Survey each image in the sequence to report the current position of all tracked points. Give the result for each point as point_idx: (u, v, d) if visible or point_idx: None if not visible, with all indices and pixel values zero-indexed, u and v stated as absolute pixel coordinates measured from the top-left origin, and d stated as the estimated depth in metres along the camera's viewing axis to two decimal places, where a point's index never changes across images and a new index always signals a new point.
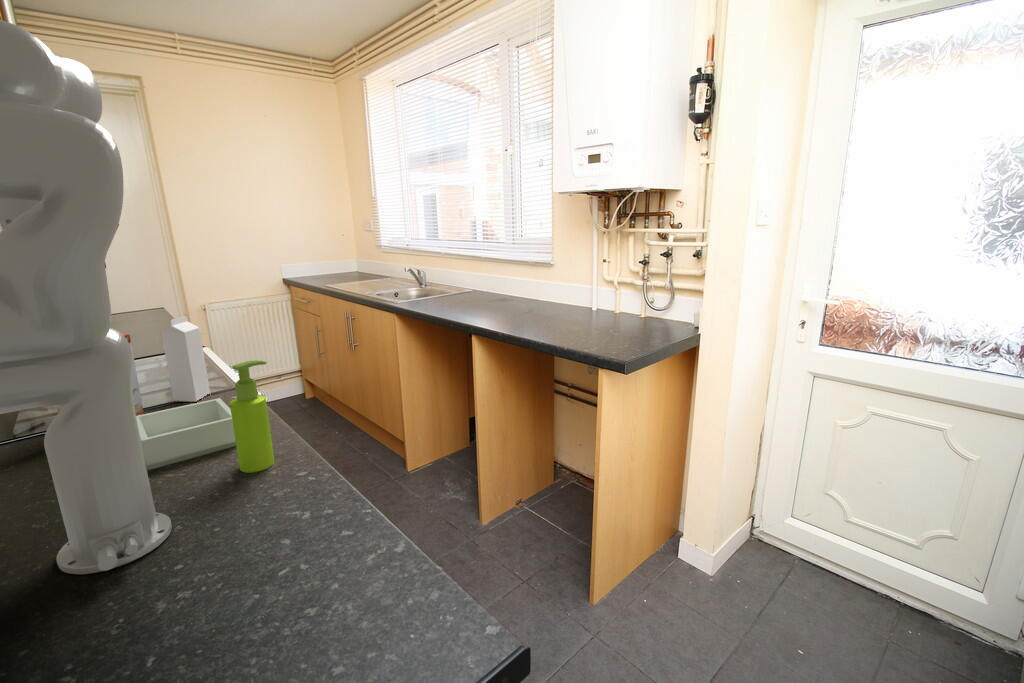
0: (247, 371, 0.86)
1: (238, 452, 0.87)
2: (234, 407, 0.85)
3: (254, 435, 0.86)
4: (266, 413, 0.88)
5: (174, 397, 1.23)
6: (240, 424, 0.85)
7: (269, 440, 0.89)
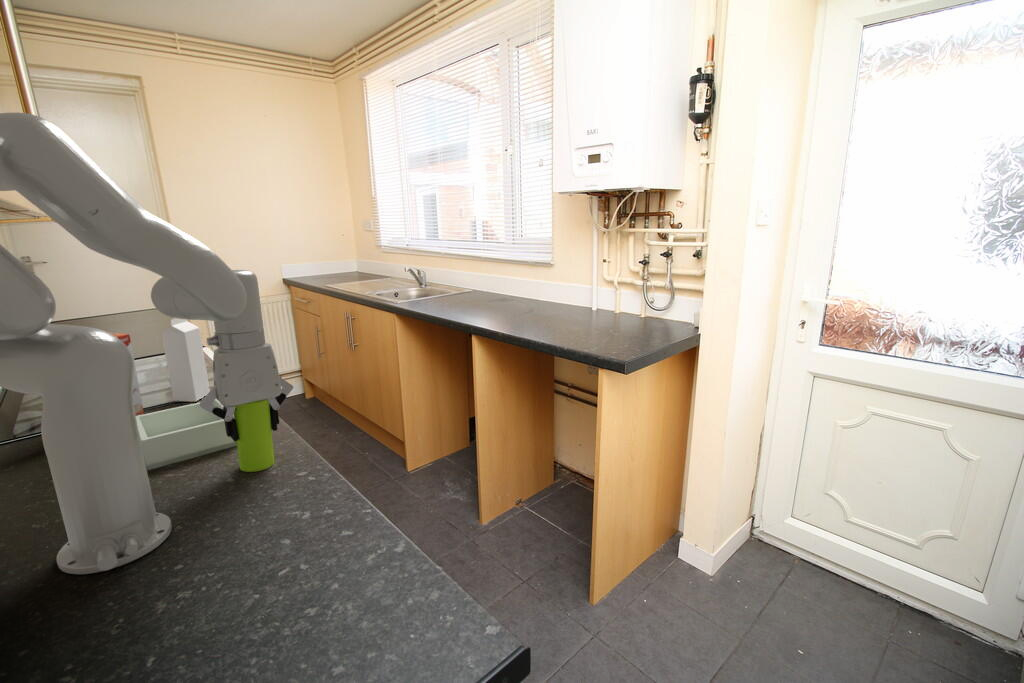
0: None
1: (239, 451, 0.87)
2: (237, 406, 0.85)
3: (256, 434, 0.86)
4: (268, 413, 0.88)
5: (174, 397, 1.23)
6: (242, 422, 0.85)
7: (270, 440, 0.89)
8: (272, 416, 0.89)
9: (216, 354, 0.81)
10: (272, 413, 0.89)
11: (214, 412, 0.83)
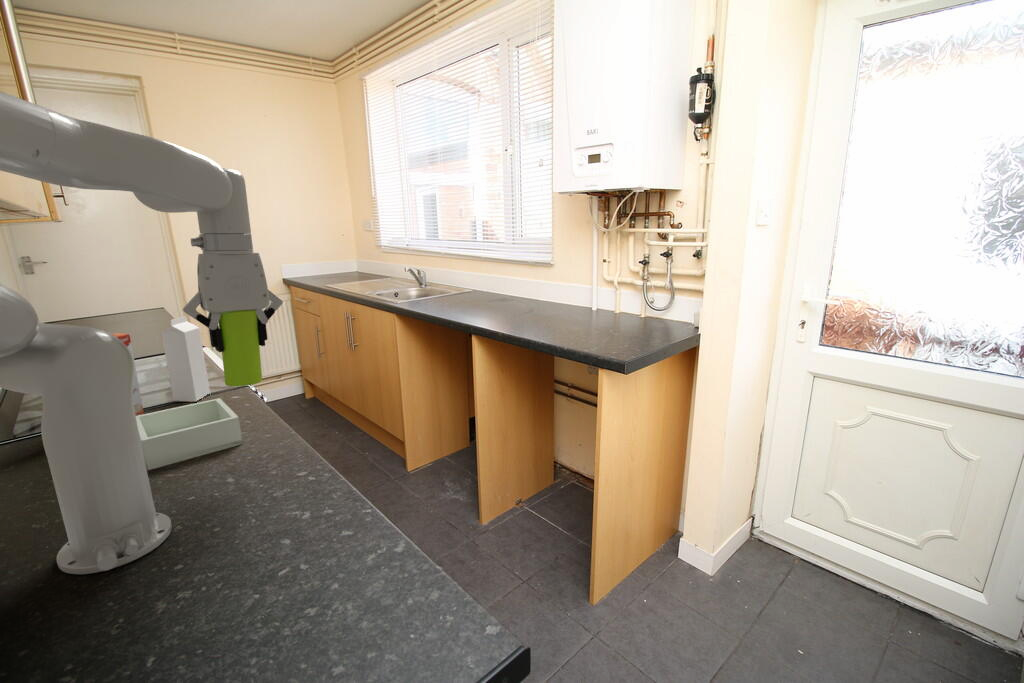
0: None
1: (224, 364, 0.83)
2: (222, 314, 0.81)
3: (242, 346, 0.82)
4: (255, 325, 0.84)
5: (174, 397, 1.23)
6: (228, 332, 0.81)
7: (257, 355, 0.85)
8: (260, 330, 0.85)
9: (200, 255, 0.78)
10: (260, 326, 0.85)
11: (198, 318, 0.79)
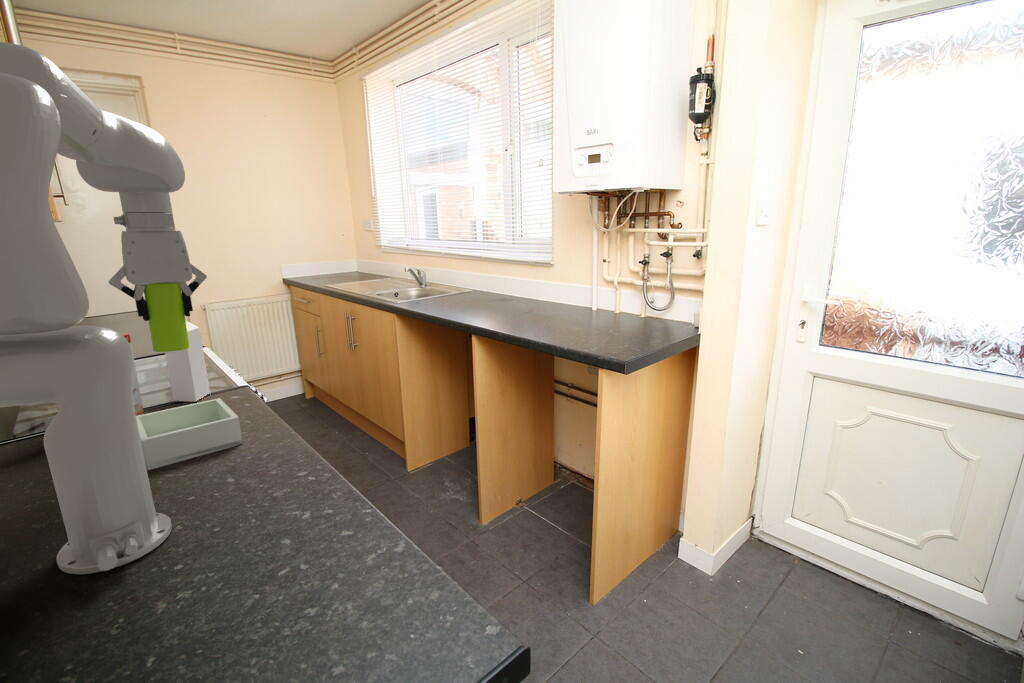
0: None
1: (151, 332, 0.92)
2: (146, 286, 0.89)
3: (166, 315, 0.91)
4: (179, 297, 0.93)
5: (174, 397, 1.23)
6: (152, 302, 0.90)
7: (182, 324, 0.94)
8: (184, 301, 0.94)
9: (122, 232, 0.86)
10: (184, 298, 0.94)
11: (123, 290, 0.88)
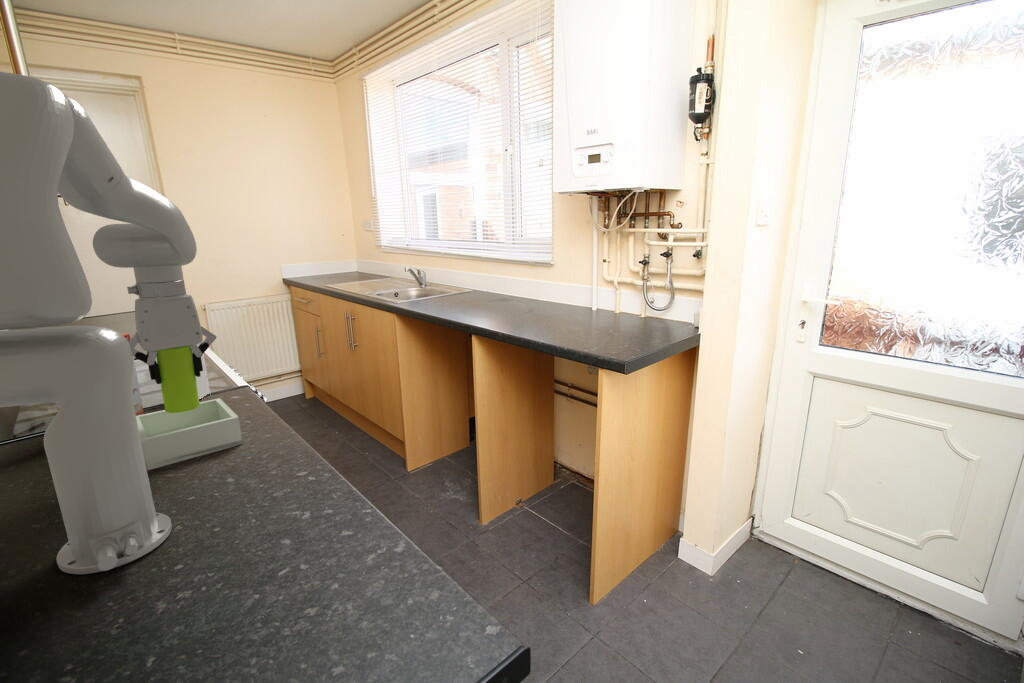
0: None
1: (163, 394, 0.95)
2: (158, 351, 0.92)
3: (178, 378, 0.94)
4: (190, 359, 0.96)
5: None
6: (164, 366, 0.93)
7: (193, 384, 0.97)
8: (195, 363, 0.97)
9: (136, 302, 0.89)
10: (195, 360, 0.97)
11: (136, 356, 0.91)
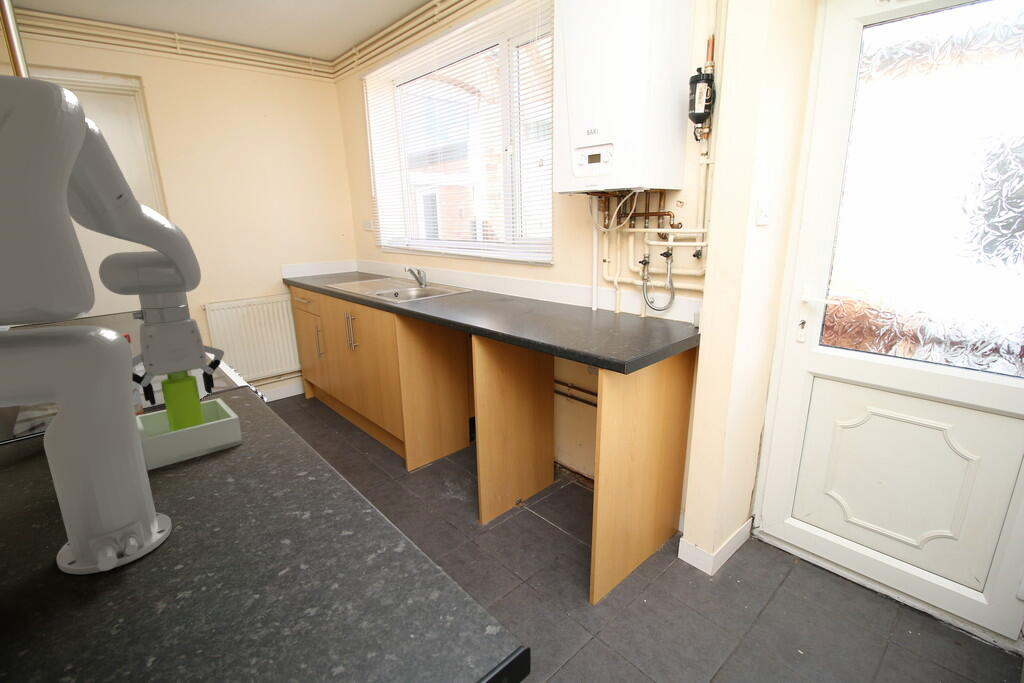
0: None
1: (170, 427, 0.96)
2: (164, 385, 0.94)
3: (184, 411, 0.95)
4: (196, 391, 0.97)
5: None
6: (170, 400, 0.94)
7: (199, 416, 0.98)
8: (206, 380, 0.99)
9: (141, 327, 0.90)
10: (206, 377, 0.98)
11: None
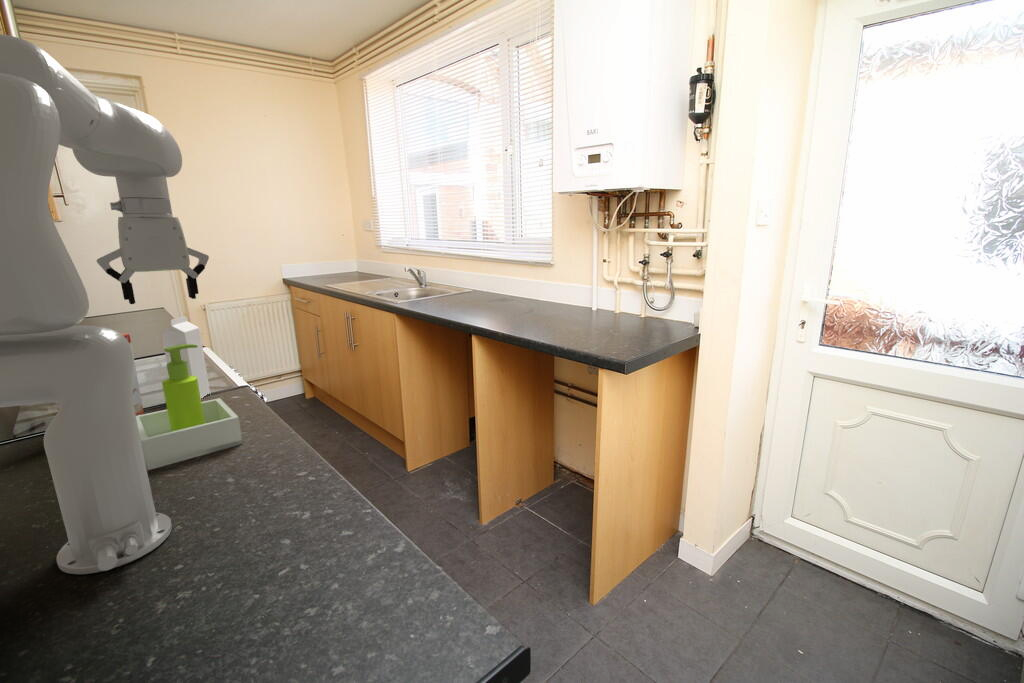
0: (178, 353, 0.95)
1: (171, 427, 0.96)
2: (165, 385, 0.94)
3: (185, 411, 0.95)
4: (197, 392, 0.97)
5: None
6: (171, 400, 0.94)
7: (200, 416, 0.98)
8: (190, 283, 0.94)
9: (119, 218, 0.85)
10: (190, 280, 0.94)
11: (108, 272, 0.86)
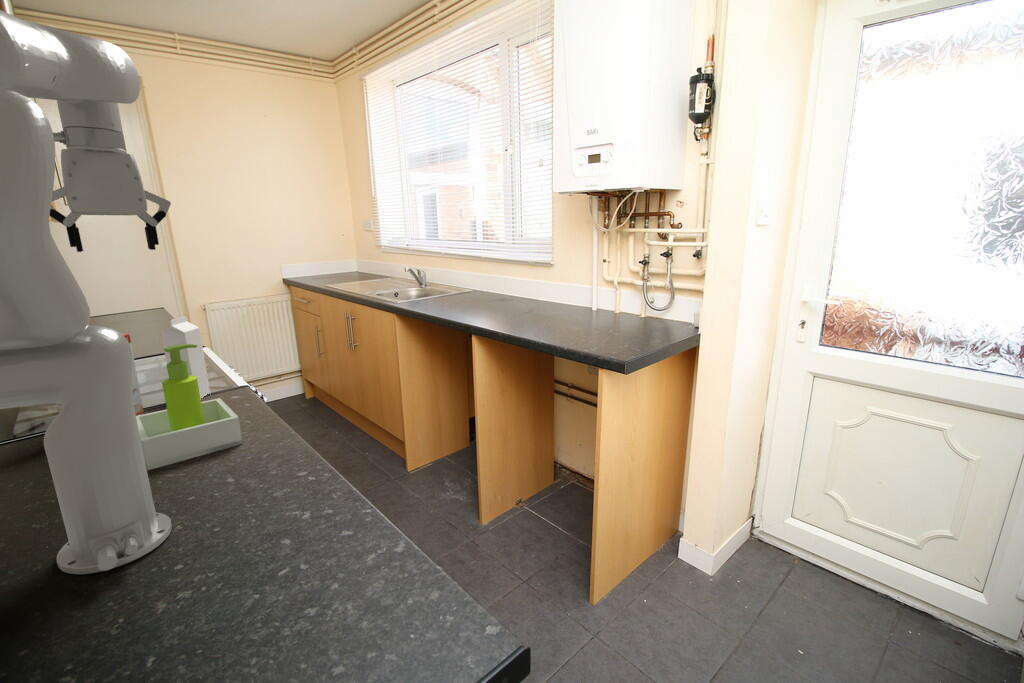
0: (178, 353, 0.95)
1: (171, 427, 0.96)
2: (165, 385, 0.94)
3: (185, 411, 0.95)
4: (197, 392, 0.97)
5: None
6: (171, 400, 0.94)
7: (200, 416, 0.98)
8: (148, 232, 0.83)
9: (62, 150, 0.74)
10: (148, 228, 0.83)
11: (49, 213, 0.74)
